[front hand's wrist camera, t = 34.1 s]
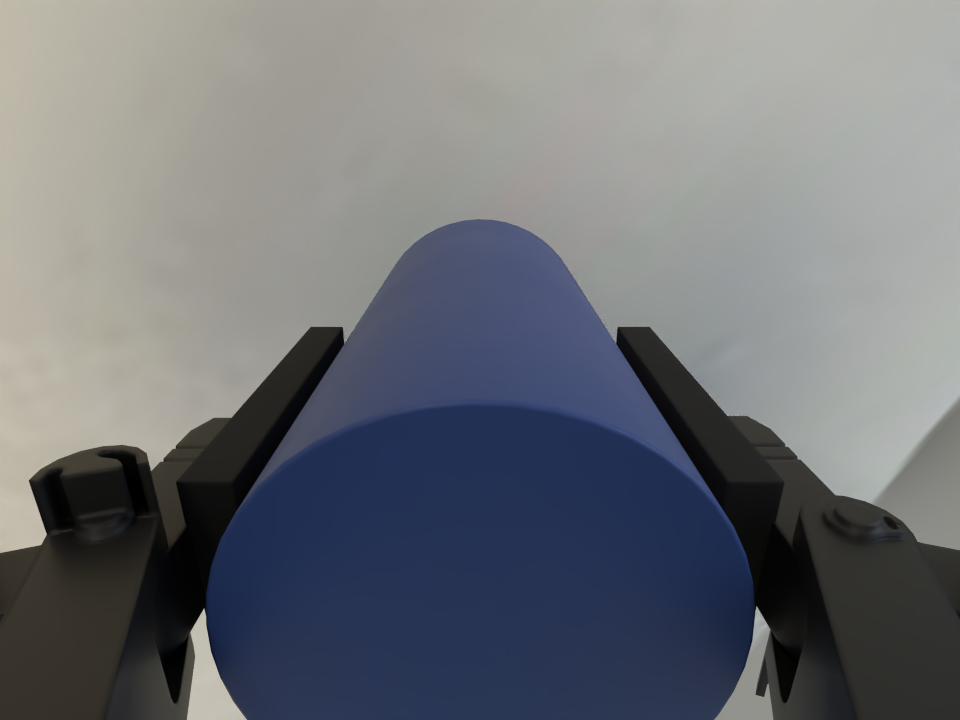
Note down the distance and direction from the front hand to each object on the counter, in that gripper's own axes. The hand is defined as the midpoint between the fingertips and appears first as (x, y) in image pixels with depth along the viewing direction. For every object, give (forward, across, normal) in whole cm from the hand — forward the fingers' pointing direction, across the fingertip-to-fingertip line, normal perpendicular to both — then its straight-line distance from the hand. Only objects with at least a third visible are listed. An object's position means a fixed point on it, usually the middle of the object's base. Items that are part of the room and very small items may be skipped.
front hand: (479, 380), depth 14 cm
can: (+5, 0, 0) cm, 5 cm away
